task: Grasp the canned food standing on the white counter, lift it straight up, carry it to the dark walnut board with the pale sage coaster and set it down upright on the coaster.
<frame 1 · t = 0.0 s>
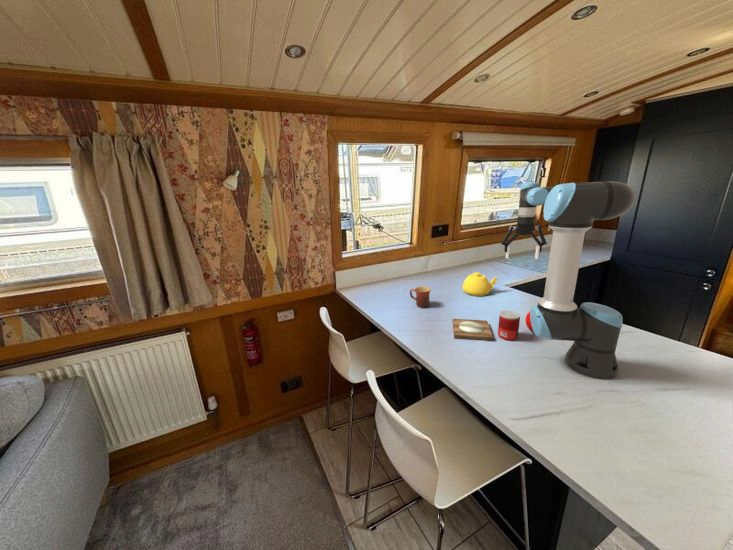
hand: (521, 258, 145), 28 cm above the worktop, fingers open, 13 cm apart
board: (471, 331, 133), on the worktop
canned food: (507, 337, 127), on the worktop
tomato: (537, 331, 130), on the worktop
teapot: (478, 292, 180), on the worktop
mug: (420, 305, 164), on the worktop
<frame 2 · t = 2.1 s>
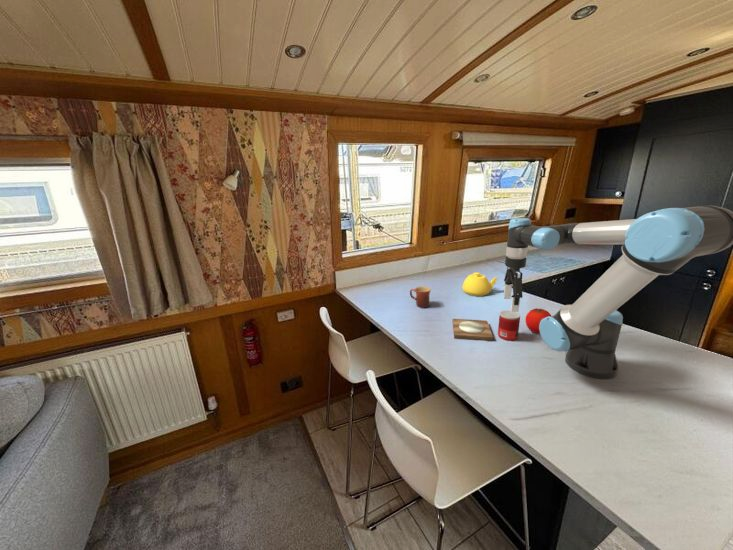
hand: (510, 304, 122), 15 cm above the worktop, fingers open, 13 cm apart
nothing on the worktop moved.
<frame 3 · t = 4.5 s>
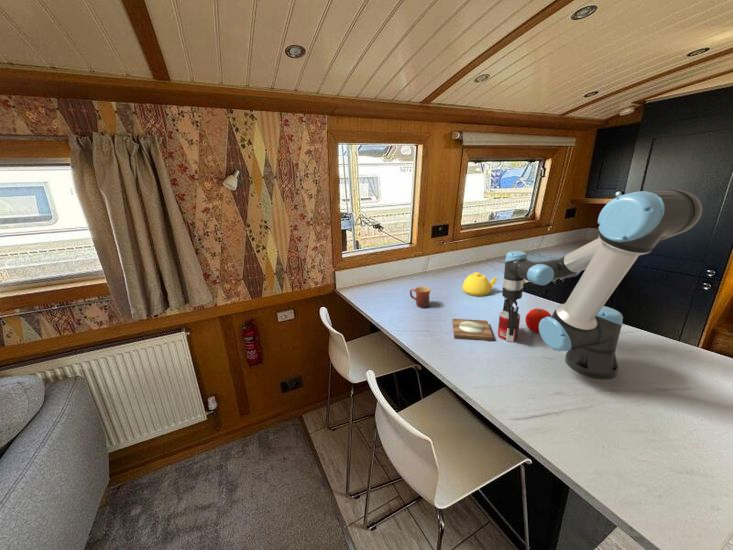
hand: (507, 336, 127), 0 cm above the worktop, fingers closed on canned food, 8 cm apart
canned food: (507, 337, 127), on the worktop, touching gripper
everything else where it was.
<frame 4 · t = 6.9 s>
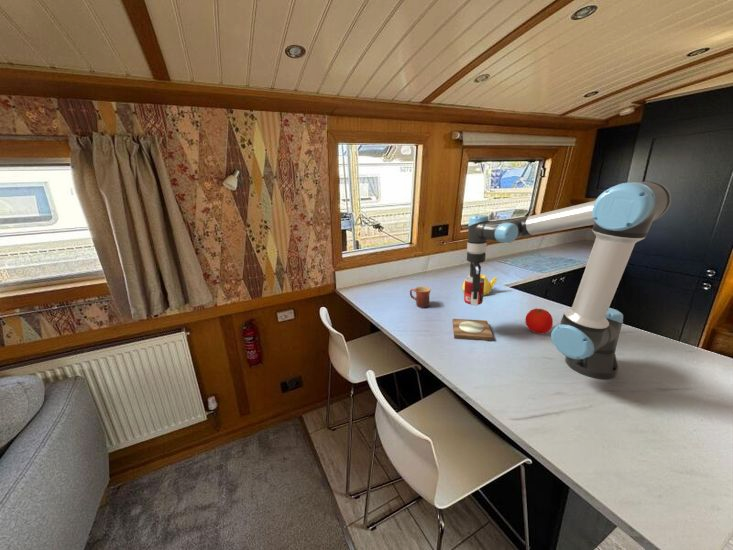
hand: (473, 301, 129), 15 cm above the worktop, fingers closed on canned food, 8 cm apart
canned food: (473, 302, 129), point 15 cm above the worktop, touching gripper
everything else where it was.
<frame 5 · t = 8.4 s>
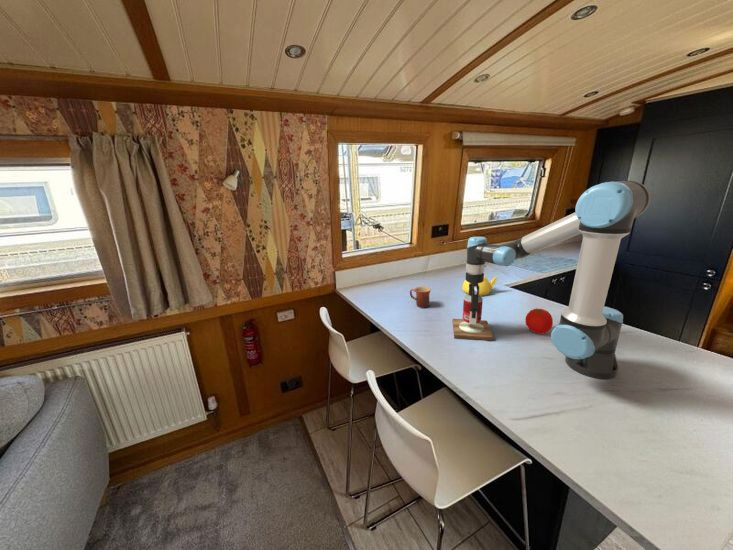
hand: (471, 319, 131), 6 cm above the worktop, fingers closed on canned food, 8 cm apart
canned food: (471, 320, 132), point 5 cm above the worktop, touching gripper
everything else where it was.
when the fingers open (4 cm above the worktop, at t = 9.6 s): canned food drops 2 cm, resting on board.
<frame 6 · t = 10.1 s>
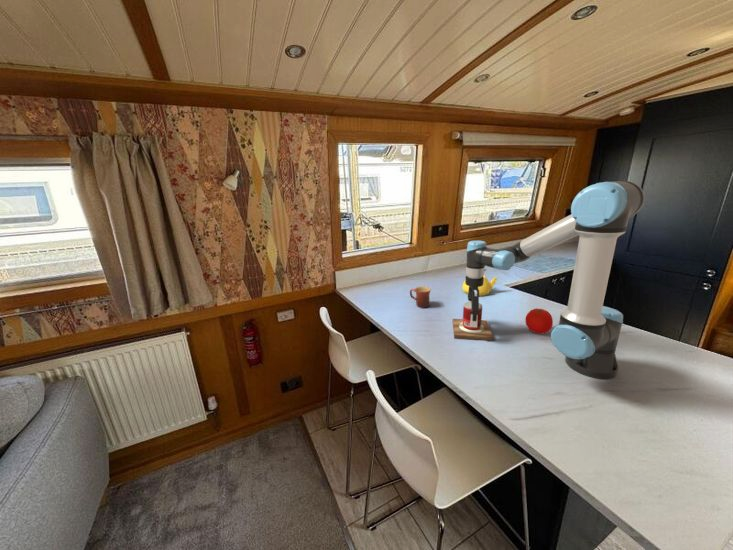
hand: (471, 320, 131), 6 cm above the worktop, fingers open, 13 cm apart
canned food: (471, 327, 132), point 2 cm above the worktop, touching board
everything else where it was.
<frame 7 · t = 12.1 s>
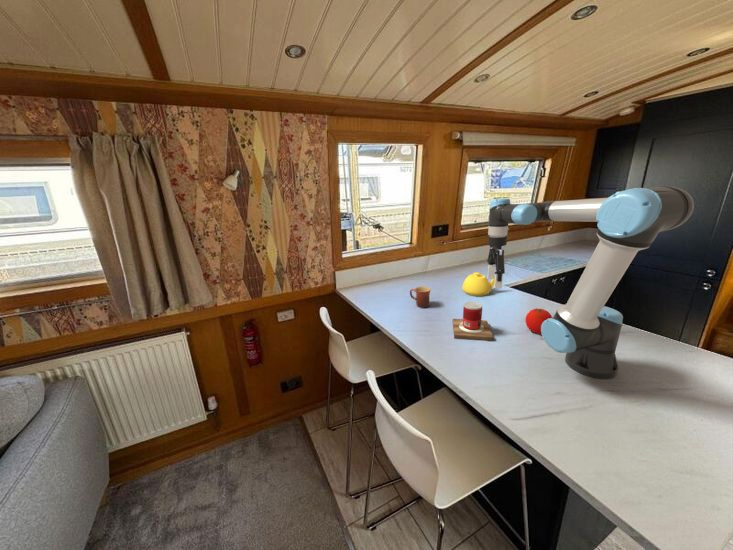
hand: (494, 283, 128), 23 cm above the worktop, fingers open, 13 cm apart
nothing on the worktop moved.
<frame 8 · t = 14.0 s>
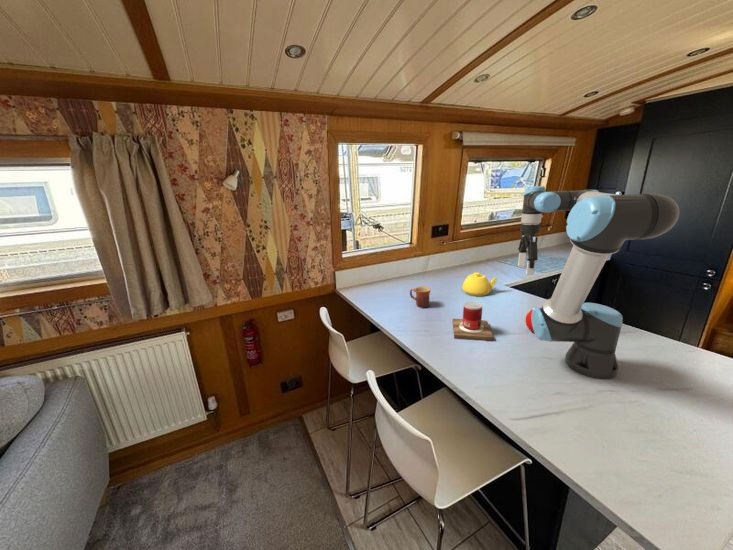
hand: (525, 270, 130), 27 cm above the worktop, fingers open, 13 cm apart
nothing on the worktop moved.
at the end: canned food 0.1 cm from the board (horizontally); canned food touching board; canned food tilted 0° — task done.
